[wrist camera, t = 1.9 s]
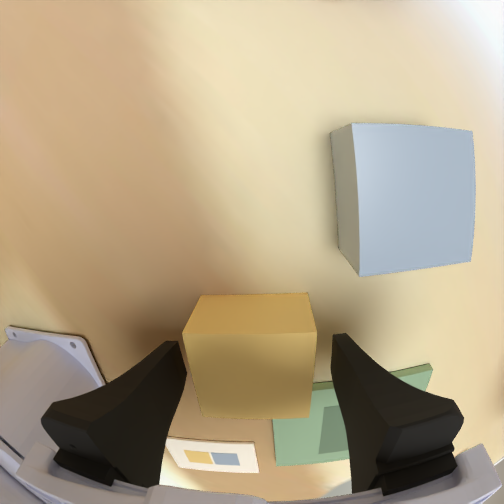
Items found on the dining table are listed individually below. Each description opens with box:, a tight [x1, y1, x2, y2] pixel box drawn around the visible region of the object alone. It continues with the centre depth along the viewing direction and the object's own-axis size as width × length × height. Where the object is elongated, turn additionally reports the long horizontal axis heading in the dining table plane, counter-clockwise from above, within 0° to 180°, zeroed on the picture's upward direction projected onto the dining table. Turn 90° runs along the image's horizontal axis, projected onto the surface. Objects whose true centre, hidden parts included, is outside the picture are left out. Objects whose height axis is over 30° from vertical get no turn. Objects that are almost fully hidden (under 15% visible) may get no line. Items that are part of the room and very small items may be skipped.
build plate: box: [272, 364, 433, 466], centre depth 16 cm, size 10×9×1 cm
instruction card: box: [165, 436, 259, 473], centre depth 18 cm, size 7×5×1 cm
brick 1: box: [182, 292, 317, 419], centre depth 12 cm, size 5×5×4 cm
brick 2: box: [330, 123, 476, 277], centre depth 10 cm, size 5×5×4 cm
